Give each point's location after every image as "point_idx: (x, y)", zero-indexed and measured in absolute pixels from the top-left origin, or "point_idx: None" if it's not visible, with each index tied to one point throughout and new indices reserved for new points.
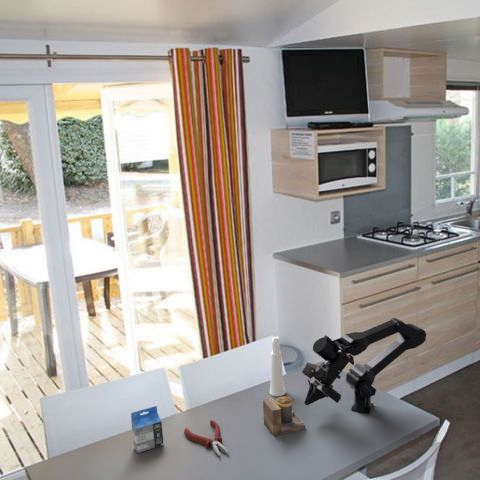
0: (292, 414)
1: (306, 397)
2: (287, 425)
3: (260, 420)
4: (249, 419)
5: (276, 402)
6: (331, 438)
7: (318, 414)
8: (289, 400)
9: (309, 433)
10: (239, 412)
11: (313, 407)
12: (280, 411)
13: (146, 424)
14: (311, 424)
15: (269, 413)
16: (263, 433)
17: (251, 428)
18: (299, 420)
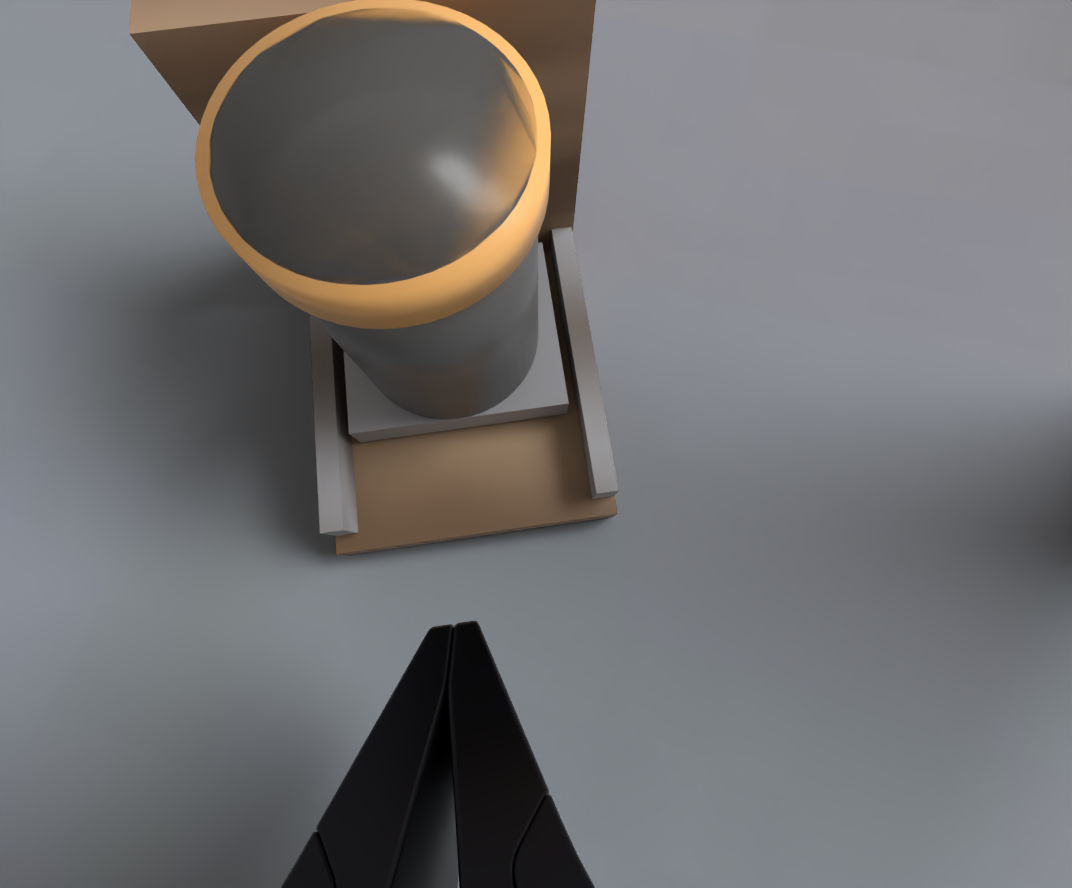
0: (591, 471)
1: (495, 708)
2: (324, 332)
3: (631, 178)
4: (672, 97)
5: (378, 11)
6: (40, 785)
7: (601, 824)
8: (335, 234)
9: (238, 567)
10: (816, 44)
11: (790, 820)
12: (167, 76)
13: None
14: (404, 651)
15: None
16: None
17: None
18: (466, 523)
